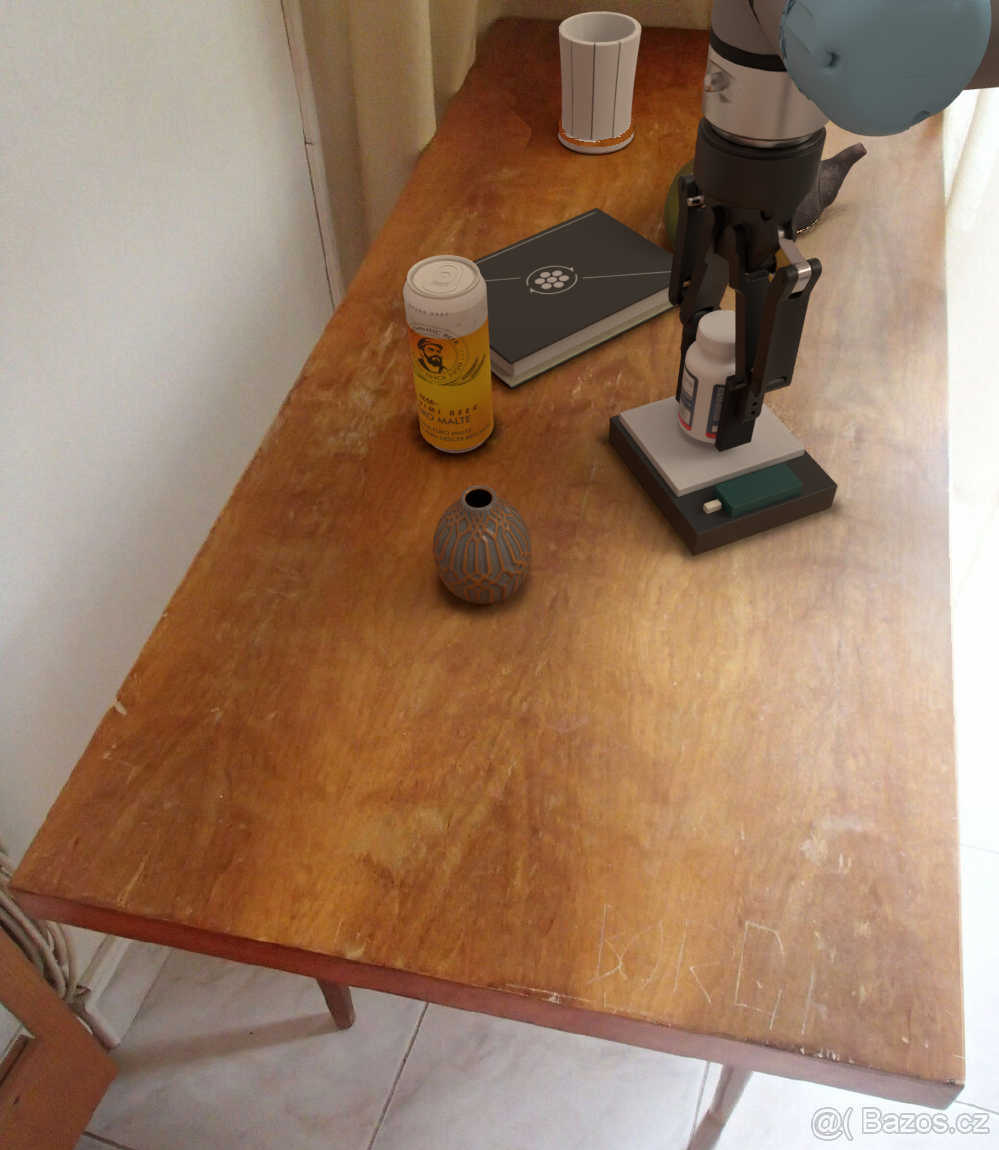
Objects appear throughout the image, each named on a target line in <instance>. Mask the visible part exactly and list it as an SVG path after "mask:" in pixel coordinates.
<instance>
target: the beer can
mask: <svg viewBox="0 0 999 1150" xmlns="http://www.w3.org/2000/svg"><path fill="white" fill-rule="evenodd" d="M472 261H473V260H470V259H469V258H466V257H463V256H459V255H455V254H454V255H453V254H452V255H451V254H442V255H434V256H429V257H426V258H423V259H422V260H420V261H418V262H416V263H415V264H413V266H411V268H410V269H409V270H408V272H407V275H406V281H405V283H404V284H403V285H404V286H403V289H402V296H403V302H404V311H405V312H404V313H405V319H406V320H405V321H406V326H407V335H408V342H409V351H410V359H411V366H412V373H413V374H412V375H413V381H414V382H413V383H414V389H415V390H414V391H415V395H416V396H415V398H416V404H417V413H418V414H417V415H418V421H419V429H420V433H421V435H422V437H423V438H424V440H425V441H426V442H428V443H429V444H430V445H432V446H433V447H434V448H436V449H437V450H440V451H442V452H446V453H451V454H459V453H460V454H461V453H466V452H471V451H472V450H475V449H476V448H478V447H479V446H481V445H482V444H483V443H484V442H485V441H486V440H487V439H488V438H489V436H490V435H491V434H492V431H493V429H494V408H493V388H492V386H493V385H492V372H491V367H490V347H489V328H488V309H487V290H486V283H485V280H484V279H483V277H482V276H481V274H480V271H479V268H478V267H477V265H476V264H475V263H473V262H472Z"/></svg>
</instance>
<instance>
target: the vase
mask: <svg viewBox="0 0 999 1150" xmlns="http://www.w3.org/2000/svg"><path fill="white" fill-rule="evenodd" d="M532 548H533V547H532V538H531V534H530V530H529V528H528V525H527V523H526V520H525V519H524V517H523V515H522V514H521V513H520V511H519V510H518V509H517V508H516V507H515V506H514V505H513V504H511V502H509V501H508V500H506V499H505V498H503V497H501V496H499V495H498V494H497V492H496V491H495V490H494V489H493V488H492V487H489V486H488V485H483V484H475V485H472V486H469V487H467V488H465V489H464V490H463V491H462V493H461V495H460V496H459V498H458V499H457V500H455V501H453V502H452V503H451V504H450V505H449V506H448V507H447V508H446V509H445V510H444V512H443V513H442V514H441V516H440V518H439V519H438V522H437V524H436V526H435V530H434V534H433V538H432V557H433V562H434V565H435V569H436V572H437V574H438V576H439V578H440V580H441V581H442V583H443V584H444V586H445V587H446V588H447V589H448V590H449V591H450V592H451V593H452V594H453V595H454V596H456V597H457V598H459V599H461V600H463V601H466V602H469V603H472V604H477V605H489V604H494V603H498V602H500V601H503V600H504V599H507V598H508V597H510V596H511V595H513V594H514V593H516V591H517V590H519V588H520V587H521V585H522V584H523V582H524V581H525V579H526V577H527V574H528V572H529V569H530V566H531V562H532Z"/></svg>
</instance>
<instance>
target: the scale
mask: <svg viewBox="0 0 999 1150" xmlns="http://www.w3.org/2000/svg"><path fill="white" fill-rule="evenodd" d="M675 397H676V395H673V396H669V397H666V398H663V399H660V400H657V401H654V402H650V403H647V404H644V405H641V406H637V407H634V408H631V409H626V410H624V411H621V412H619V414H617V415H614V416H611V417H609V426H608V427H609V428H608V441H609V443H610V444H611V445H612V446H613V448H614V449H615V451H616V452H617V453H618V455H619V456H620V457H621V459H622V460H623V462H624V463H625V464H626V465H627V467H628V469H630V471H631V472H632V474H633V475H634V476H635V478H636V479H637V480H638V482H639V483H640V485H641V486H642V487H643V489H644V490H645V491H646V493H647V494H648V495H649V497H650V498H651V499H652V501H653V503H654V504H655V505H656V507H657V508H658V509H659V510H660V512H661V514H662V515H663V516H664V517H665V519H666V520H667V522H668V523H669V524H670V526H671V527H672V528H673V530H674V531H675V532H676V534H677V535H678V536H679V538H680V539H681V541H682V542H683V543H684V544H685V546H686V547H687V549H688V550H689V552H690V553H691V554H692V555H693V556H696V555H699V554H703V553H705V552H708V551H711V550H714V549H716V548H720V547H723V546H725V545H728V544H730V543H734V542H736V541H739V540H742V539H745V538H749V537H750V536H754V535H756V534H759V533H762V532H765V531H768V530H771V529H774V528H777V527H780V526H782V525H785V524H787V523H791V522H794V521H796V520H799V519H802V518H805V517H808V516H810V515H813V514H816V513H819V512H823V511H825V510H828V509H831V508H832V505H833V502H834V500H835V496H836V493H837V490H838V487H839V486H838V484H837V483H836V481H835V480H833V479H832V477H831V476H830V475H829V474H828V472H826V470H824V469H823V467H821V466H820V464H819V463H818V462H817V461H816V460H815V459H814V457H813V456H811V454H810V453H809V451H807V450H806V446H804V444H802V442H801V441H800V440H799V439H798V438H797V437H796V436H795V435H794V434H793V433H792V432H791V431H790V429H788V427H787V426H786V425H785V424H784V423H783V422H782V420H780V418H779V417H777V415H776V414H775V413H774V412H773V411H772V410H771V409H770V408H769V407H768V405H766V404H765V402H763V405H762V410H761V414H760V416H759V417H758V418H756V421H755V425H754V430H753V435H752V440H751V442H750V443H747V444H743V445H740V446H737V447H734V448H731V449H728V450H725V451H722V452H719V451H718V450H717V448H716V447H715V443H709V442H704V441H700V440H697V439H695V438H693V437H691V436H689V435H688V434H687V433H686V432H685V431H684V430H683V429H682V428H681V426H680V424H679V420H678V412H679V403H678V402H677V400H676V399H675Z"/></svg>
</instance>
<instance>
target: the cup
mask: <svg viewBox="0 0 999 1150" xmlns="http://www.w3.org/2000/svg"><path fill="white" fill-rule="evenodd" d="M641 36H642V25H641V23H640V22H639V21H638V20H637V19H635V18H634V17H632V16H630V15H627V14H623V13H621V12H620V13H619V12H614V11H613V12H612V11H589V12H583V13H578V14H575V15H571V16H570V17H568V18H565V19H564V20H563V21H562V22H561V23H560V25H558V38H559V39H558V40H559V54H560V56H559V57H560V77H561V118H562V128H563V129H564V130H565V132H566V133H563V134H566V136H567V137H569V138H579V139H575V140H579V141H584V142H593V143H595V142H596V141H597V140H604V139H609V138H616V137H621V136H620V135H622V134H623V133H625V132H626V131H627V130H628V129H629V127H630V124H631V119H632V110H633V109H632V107H633V96H634V87H635V78H636V70H637V63H638V57H639V56H638V55H639V49H640V42H641ZM634 134H635V131H634V132H633V134H632V135H631V137H630V138H628V139H627V140H625V141H624V142H621V143H619V144H616V145H612V146H607V147H585V146H578V145H575V144H572V143H569V142H568V141H566V140H564V139H563V138H562V137H561V136H560V134H559V133H558V132H557V138H558V140H559V141H560V143H561V144H562V145H563V146H565V147H566V148H568V149H570V150H571V151H574V152H577V153H580V154H586V155H604V154H609V153H615V152H616V151H619V150H621V149H623V148H624V147H626V146H627V145H628V144H629V143H631V141H632V140H633V138H634V136H635V135H634ZM598 142H600V141H598Z"/></svg>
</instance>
